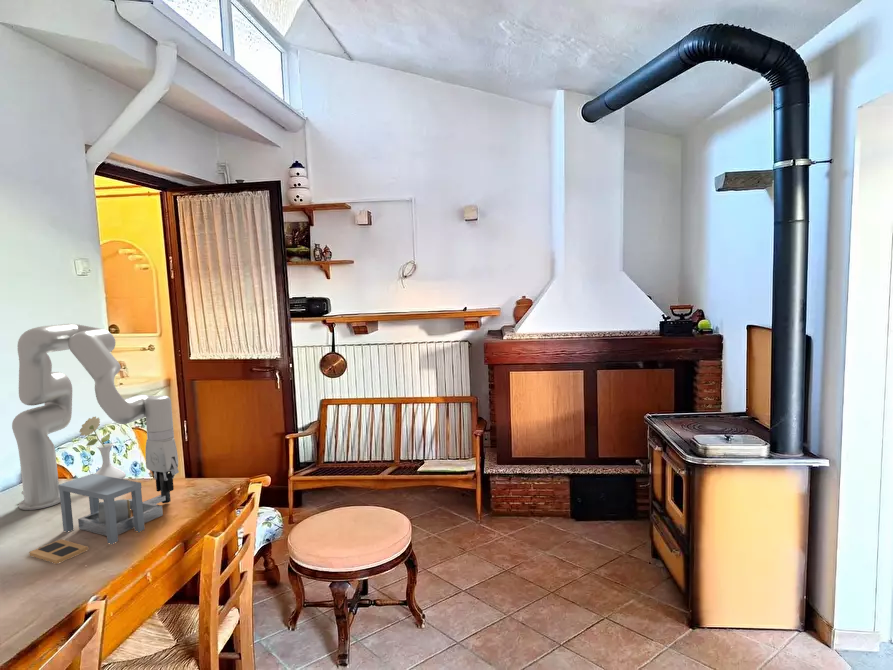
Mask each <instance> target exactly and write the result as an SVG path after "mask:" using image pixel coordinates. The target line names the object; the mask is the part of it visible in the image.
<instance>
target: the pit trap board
mask: <svg viewBox="0 0 893 670" xmlns="http://www.w3.org/2000/svg"><path fill="white" fill-rule="evenodd" d="M86 550H88V551H89V546H86V545H83V544H80V543H76V542H73V541H69V540H65V539H62V538H61V539H58V540H56V541H55V540H54V541H53V542H50V543H48V544H46V545H45V544H44V545H42V546H40V547H38V548H36V549H34V550H31V551H29V552H28V553H29V554H28V555H29V557H32V556H33V557H32V558H35V557H36V559H39V560H42V559H43V560H42V561H45V560H46V562H48V561H50V562H49V563H51V562H53V563H52V564H54V563H55V565H58V564H57V563H59V562H61V563H63V562H65V561H67V560H66V559H68V560H70V559H71V557H72V558H74V557H76V556H75V555H77V556H79V555H81V554H83V553H85V552H84V551H86ZM82 552H83V553H82ZM86 552H87V551H86ZM80 553H81V554H80ZM78 554H79V555H78ZM73 556H74V557H73ZM69 558H70V559H69ZM64 560H65V561H64ZM62 561H63V562H62ZM59 564H60V563H59Z"/></svg>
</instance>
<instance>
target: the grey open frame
mask: <svg viewBox="0 0 893 670" xmlns="http://www.w3.org/2000/svg"><path fill="white" fill-rule="evenodd" d="M168 474H169V472H168V473H167V475H168ZM159 477H160V489H161V491H160V494H159V495H157V496H155V497H152V498H149V499H147V500H144V501H142V504H143V516H144V524H146V523H149V522H151V521H153V520H155V519H157V518H160V517H162V516H163V515H164V514H163V513H164V512H163V505H160V504H159V503H162V504H168V503H170V502H171V491H170V492H167V493H164V489H163V481H164V475H163V472H159ZM127 500H129V501H130V509H131V510H130V511H133V506H132V498H128V499H127ZM77 519H78V520H77V521H78V529H79V530H82V531H87V532H90V533H95V534H98V535H101V536H105V537H107V531H106V523H102V522H99V511H97V512H94V513H92V514H87V515H84V516H82V517H79V518H77ZM132 529H135V528H134V517H133V516H131V518H128V519H126V520H123V521H121V522H119V523H117V534H118V536H119V535H121V534H123V533H125V532H127V531H130V530H132Z"/></svg>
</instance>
